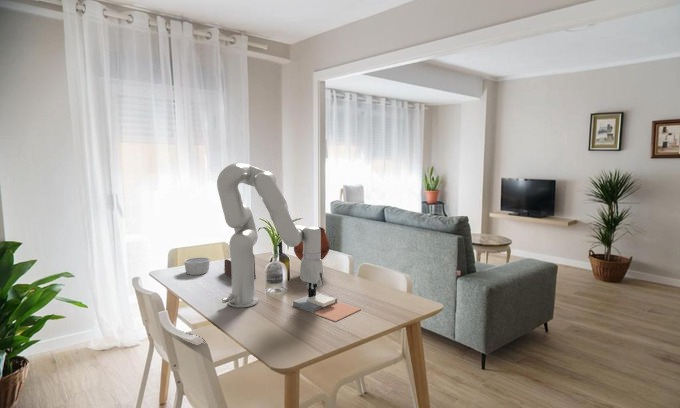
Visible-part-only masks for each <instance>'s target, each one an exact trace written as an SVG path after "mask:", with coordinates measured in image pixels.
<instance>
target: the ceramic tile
mask: <svg viewBox="0 0 680 408" xmlns="http://www.w3.org/2000/svg"><path fill="white" fill-rule="evenodd" d="M328 296H329V295H328ZM328 296H324V295H321V294H318V295H316V296H313V297H310V298H308V302H311V303H314V304H317V305H319V306H322V307H325V306H327V305H330V304H332V303H335V299H334V298H335V297H334V298H331V297H332V296H331V297H328Z"/></svg>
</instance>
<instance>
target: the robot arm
mask: <svg viewBox="0 0 680 408" xmlns="http://www.w3.org/2000/svg"><path fill="white" fill-rule="evenodd" d="M240 184H245V185H248V186H251V187H253V188H254V189H255V190H256V192H257V194H258V196H259V197H260V199H261V201H262V202H263V204H264V206H265V208H266V210H267V212H268V213H269V217H270V218H271V221H272V222H273V225H274V227H275V229H276V231H277V233H278V235H279V237H280V238H281V240H282V241H283V243H284V244H285V245H286V246H287V247H289V248H294V247H296V246H298V245H299V244H300V242H303V252H302V253H303V258H302V260H300V267H299V269H300V270H299V271H300V272H299V278H300V280H301V281H302V282H303V283H305V284H306V288H307V296H308V297H309V298H310V297H313V296H316V292H317V289H318V287H321V286H323V281H324V267H323V259H322V260H321V230H320V228H319V227H320V226H311V225H310V226H303V225H295V223H294V222H293V220H292V217H291V214H290V212H289V211H290V210H289V206H288V203H287V200H286V199H285V197H284V195H283V194H282V192H281V190H280V188H279V186H278V185H277V178H276V176H275V174H274V173H272V172H270V171H268V170H265V169H261V168H259V167H256V166H252V165H250V164H246V163H242V162H241V163H240V162H239V163H237V162H236V163H231V164H228V165H227V166H225V167H224V168H223V169H222V170H221V171H220V172H219V175H218V176H217V180H216V187H217V193H218V196H219V200H220V203H221V208H222V212H223V216H224V219H225V223H226V224H227V226H228V227H229V228H231V229H234V233H233V234H232V236H230V240H229V243H228V244H229V245H228V247H229V254H230V261H231V275H232V278H231V293H229V295H228V297H224V298H222V299H221V303H222V304H226V303H228V305H229V306H230V307H233V308H239V309H241V308H249V307H252V306H255V305H257V304H258V303H259V297H257V296H256V295H255V292H256V291H255V279H254V258H255V255H254V256H253V254H254V246H255V245H256V244H257V242H258V237H259V236H258V232H257V228H256V222H255V220H254V215H253V212H252V211H251V208H250V207H249V206H247V204H244V203H243V200H242V195H241V192H240V190H239V185H240Z"/></svg>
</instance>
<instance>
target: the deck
mask: <svg viewBox="0 0 680 408" xmlns="http://www.w3.org/2000/svg"><path fill="white" fill-rule="evenodd" d="M318 294H321V295H324V296H328V297H331V298H334V299H335V303H338V298H337V297H335V296H331V295H328V294H325V293H322V292H319V291H316V295H318ZM308 298H309V297H308V295H306V296H302V297H300V298H297V299H295V300H293V301H292V306H293V307H296V308H298V309H302V310H304V311H307V312H309V313H312V314H313V313H314V312H316V311H319V310H321V309H323V308H326V307H328V306H331V305H333V304H335V303H332V304H330V305H327V306H325V307H322V306H319V305H317V304H314V303H311V302H308Z"/></svg>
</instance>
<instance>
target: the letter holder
mask: <svg viewBox="0 0 680 408" xmlns="http://www.w3.org/2000/svg"><path fill="white" fill-rule="evenodd" d="M253 256H254V280H256V279H257V278H256V262H255V258H256V257H255V254H254V253H253ZM223 270H224V274H226V275H227V276H228V277H230V278H231V279H232V275H231V259H230V260H229V259H226V258H225V259H224V267H223Z"/></svg>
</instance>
